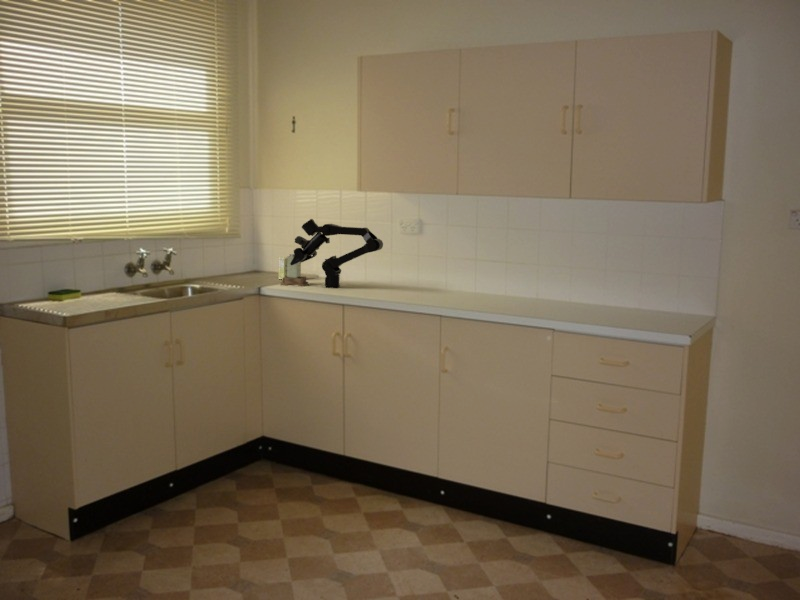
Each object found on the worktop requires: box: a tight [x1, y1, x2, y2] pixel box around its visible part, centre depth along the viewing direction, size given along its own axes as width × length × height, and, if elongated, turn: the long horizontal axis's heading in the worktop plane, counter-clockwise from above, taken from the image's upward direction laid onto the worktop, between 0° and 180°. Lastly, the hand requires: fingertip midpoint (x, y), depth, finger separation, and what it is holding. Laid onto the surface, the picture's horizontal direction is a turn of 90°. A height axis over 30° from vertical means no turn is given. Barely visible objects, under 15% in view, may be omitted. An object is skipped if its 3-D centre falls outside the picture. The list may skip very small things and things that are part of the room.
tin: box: [286, 253, 300, 279], centre depth 404 cm, size 5×5×14 cm
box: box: [278, 256, 302, 281], centre depth 422 cm, size 10×6×12 cm, turn 130°
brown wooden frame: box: [280, 276, 309, 287], centre depth 405 cm, size 12×10×4 cm
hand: (294, 263), depth 403 cm, fingers open, 9 cm apart
